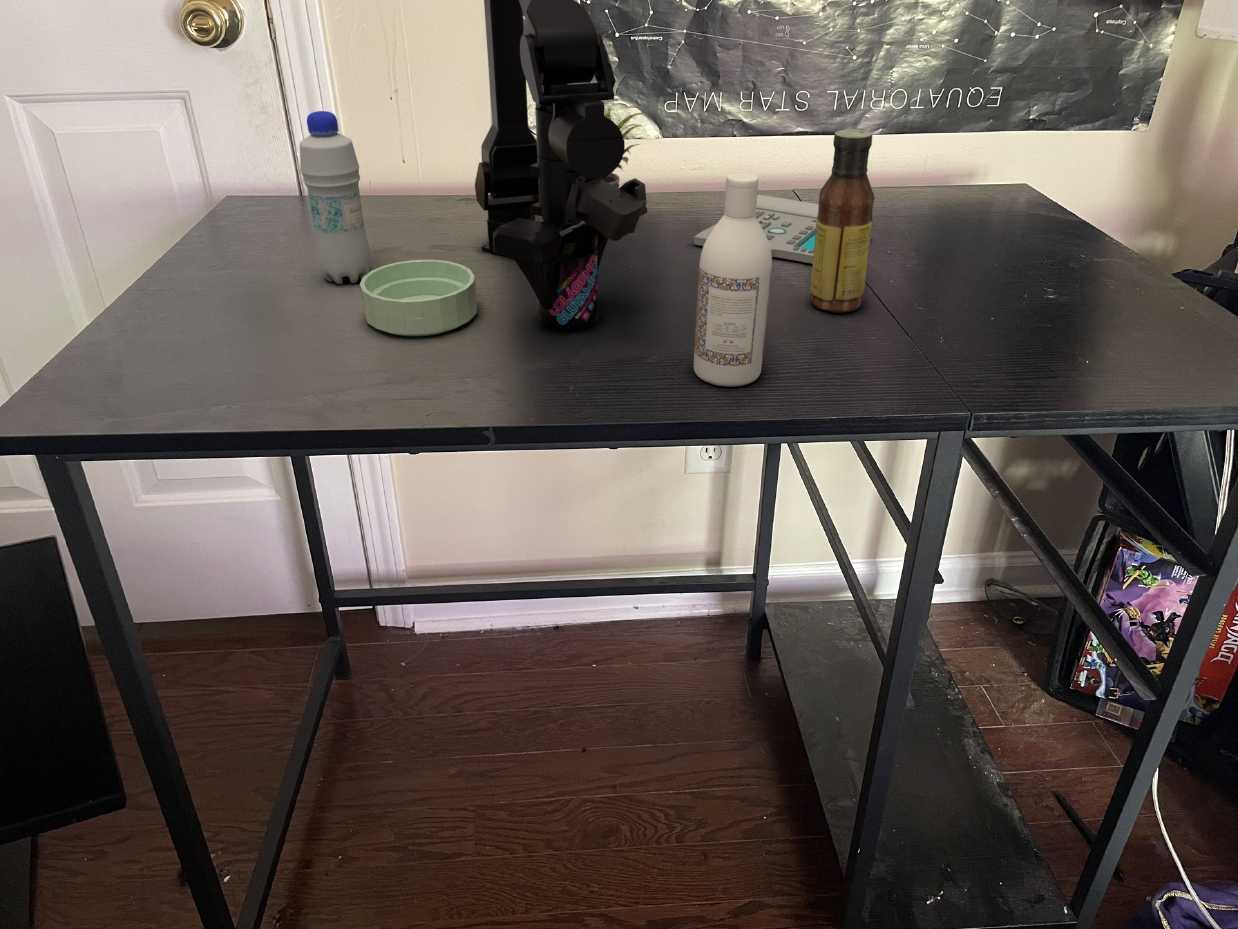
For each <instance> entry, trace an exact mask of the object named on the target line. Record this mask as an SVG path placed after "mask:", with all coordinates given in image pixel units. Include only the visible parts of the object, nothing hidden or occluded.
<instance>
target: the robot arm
mask: <svg viewBox="0 0 1238 929" xmlns="http://www.w3.org/2000/svg"><path fill="white" fill-rule="evenodd" d="M483 7H484V21H485V37H486V38H485V39H486V51H487V66H488V81H489V82H488V83H489V95H490V96H489V97H490V110H491V112H490V113H491V126H490V127H489V129H488V132H487V133H486V135H485V137H484V139H483V141H482V143H481V146H480V150H481V151H480V152H481V162H478V165H477V171H476V177H475V182H474V191H475V198H476V202H477V204H478V205H479V206H480V208H481V209H482V210H483V211H484V212H485V211H487V219H486V225H487V226H486V227H487V237H488V238H487V239H488V240H487V241H488V242H487V243H484V244H481V246H480V248H481V250H482V251H485V252H490V253H494V254H496V255H499V256H504V257H507V258H511V259H513V260H514V262H515V263H516V265H517V266H518V268H519V269H520V271H521V272H522V274H523V275H524V277H525V279H526V280H527V282H528V284H529V286H530V287H531V289H532V291H533V294H535V296H536V298H537V300H538V303H539V302H540V303H541V305H542V307H543V308H544V309H548V310H551V309H552V308H553V303H554V290H555V268H556V265H557V264H558V263H559V262H560V261H561V260H562V259H563V258H564V257H565V255H566V254H564V253H560V252H559V250H560V248H561V245H562V242H561V234H563V233H565V232H567V231H569V230H571V229H573V228H575V227H578V226H580V225H582V224H585V225H588V226H591V227H593V228H594V229H596V230H597V232H598V249H597V273H598V271H599V268H600V264H601V262H602V259H603V256H604V252H605V249H606V246H607V243H608V241H609V240H610V241H614V242H616V241H620V240H622V238H623V237H625V236H627V235H628V234H633V233H634V232H635V231H636V227H637V225H638V222H639V219H640V217H641V216H643V215H646V214H647V213H648V207H647V206H646V205H647V202H648V201H647V191H646V184H645V183H644V182H642V181H641V180H639V179H638V178H636V177H635V178H634V177H633V178H632V179H629V180H627V181H625V182H624V183H623V184H622V185H621V186H620V183H619V184H618V183H615V184H613V185H612V184H609V183H607V182H605V181H604V179H603V177H606V176H608V175H609V174H611V173H614V171H615V170H616V169H617V168H618V165H619V164H620V163H621V162H622V161H623V160H622V157H624V155H625V153H624V149H626V146H625V145H626V144H625V139H624V138H623V136H622V135H623V133H622V131H621V129H619V127H618V126H617V125H618V124H616V123H615V121H614V120H611V119H612V118H611V119H609V118H607V117H606V116H605V102H604V101H614V100H615V91H614V87H615V85H616V82H617V81H616V76H615V74H614V70H613V67H612V63H611V60H610V57H609V52H608V50H607V46H606V44H605V43H604V39H603V35H602V34H601V32H599V31H598V28H597V26H596V24H595V23H594V21H593V18H592V17H591V15H590V13H589V10H588V9H587V8H586V7H585V6H584V5H582V4H581V3H579V2H578V1H576V0H483ZM594 78H595V81H596V82H592V81H593V80H594ZM527 86H528V89H527ZM527 90H529V92H530V95H531V96H530V97H531V99H532V102H533V103H535V107H534V111H535V112H534V115H535V136H536V137H535V136H534V134H533V132H532V131H531V129H530V128H529V111H528V91H527ZM620 165H621V164H620ZM619 186H620V187H619ZM536 217H541V220H542V221H537V220H536Z"/></svg>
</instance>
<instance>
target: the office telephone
mask: <svg viewBox="0 0 1238 929" xmlns="http://www.w3.org/2000/svg"><path fill="white" fill-rule="evenodd" d="M818 208H819V203H815V202H814V203H813V202H807V201H802V200H795V199H789V198H783V197H777V196H770V195H764V194H757V204H756V213H755V217H756V218H757V220H758V222H759V224H760V226H761V227H762V229H763V231H764V233H765V235H766V237H767V240H768V242H769V245H770V249H771V255H772V258H779V259H785V260H790V261H797V262H800V263H801V262H802V263H807V264H811V265H813V255H814V244H815V233H816V221H817V217H818ZM717 223H718V222H716V223H714V224H713V225H712V226H710V227H708V228H706V229H704V230H702V231H700V232H699V233H697V234H696V235H694V236H693V245H696V246H701V247H703V246H704V244H705V241H706V240H707V238H708V236H709V234H710V233H711V231H712V230H713V229H714V227H715V226H716V225H717Z"/></svg>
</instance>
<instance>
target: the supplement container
mask: <svg viewBox="0 0 1238 929" xmlns="http://www.w3.org/2000/svg"><path fill="white" fill-rule="evenodd" d="M561 242H562V245H561V248H560V250H559V252H560V253H564V254H566V255H565V257H564V258H563V259H562V260H561V261H560V262H559V263H558V264H557V265H556V268H555V290H554V303H553V308H552V309H551V310H548V309H544V308H543V307H542V305H541V303H540V302H539V301H538V311H539V313H538V314H539V319H540V321H541V324H542V325H544V327H546V328H548V329H550V330H553V331H557V332H563V333H572V332H573V333H574V332H579V331H583V330H587V329H589V328H590V327H592V326H593V325H594V324H595V323H596V322H597V319H598V317H599V316H598V315H599V314H598V313H599V312H598V311H599V308H598V306H599V305H598V301H599V299H598V296H599V294H598V289H599V288H598V287H599V286H598V272H597V249H598V232H597V230H596V229H594V228H593V227H591V226H588V225H585V224H582V225H580V226H578V227H575V228H573V229H571V230H569V231H567V232H565V233H563V234H561Z"/></svg>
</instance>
